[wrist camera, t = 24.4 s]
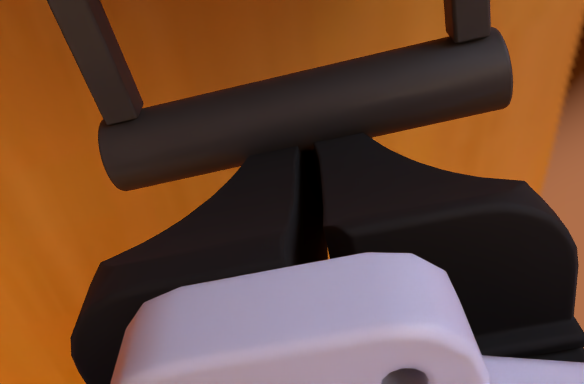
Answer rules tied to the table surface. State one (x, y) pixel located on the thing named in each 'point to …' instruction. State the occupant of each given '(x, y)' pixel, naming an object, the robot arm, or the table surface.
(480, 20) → the dish drawer
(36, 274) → the table surface
